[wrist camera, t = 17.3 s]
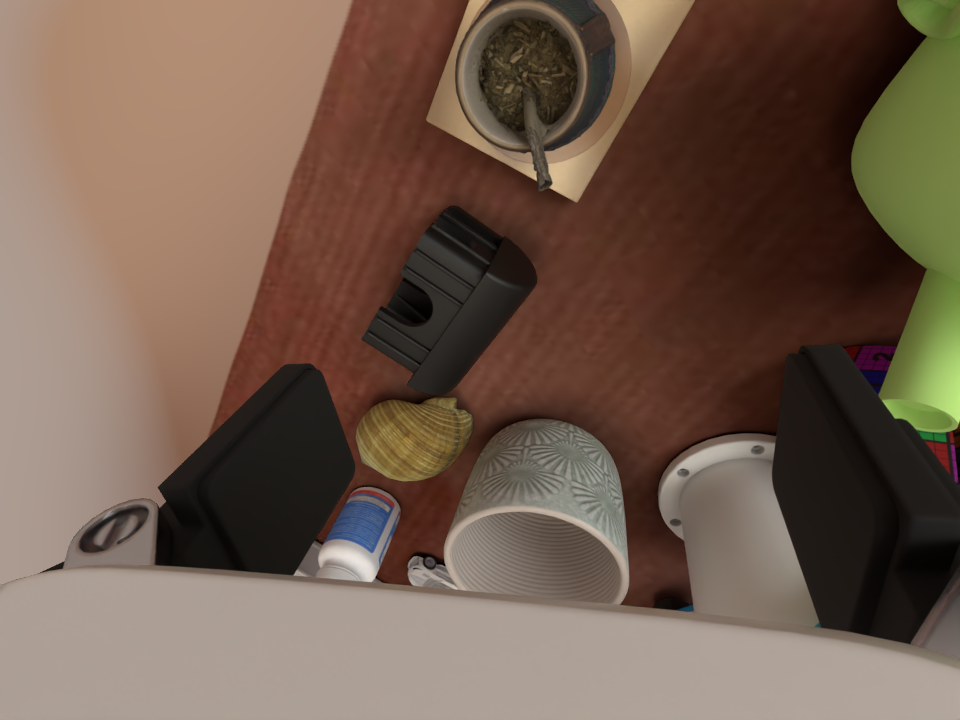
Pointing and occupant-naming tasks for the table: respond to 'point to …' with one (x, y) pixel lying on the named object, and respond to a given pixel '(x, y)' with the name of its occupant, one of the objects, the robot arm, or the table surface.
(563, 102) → the mate gourd
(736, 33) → the table surface
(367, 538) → the pill bottle
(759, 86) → the table surface
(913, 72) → the teapot
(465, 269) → the end cap
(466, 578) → the planter
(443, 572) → the toy car
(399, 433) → the seashell
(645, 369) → the table surface
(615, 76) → the serving board
